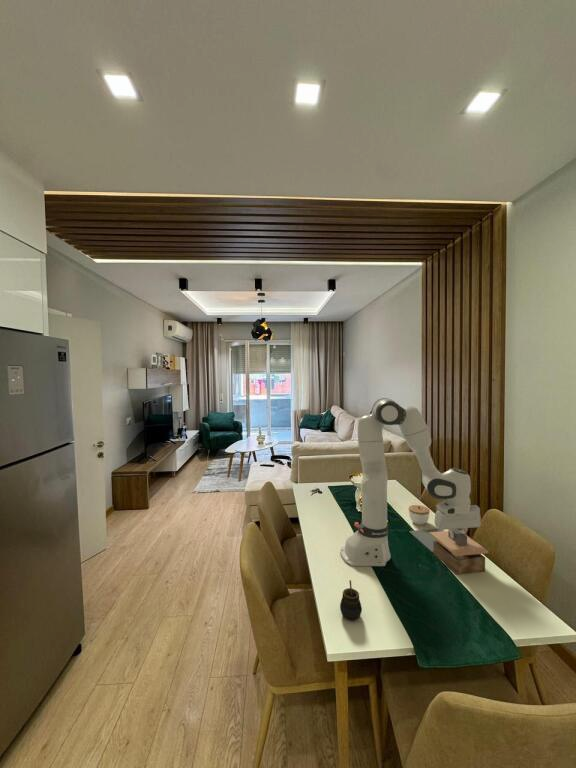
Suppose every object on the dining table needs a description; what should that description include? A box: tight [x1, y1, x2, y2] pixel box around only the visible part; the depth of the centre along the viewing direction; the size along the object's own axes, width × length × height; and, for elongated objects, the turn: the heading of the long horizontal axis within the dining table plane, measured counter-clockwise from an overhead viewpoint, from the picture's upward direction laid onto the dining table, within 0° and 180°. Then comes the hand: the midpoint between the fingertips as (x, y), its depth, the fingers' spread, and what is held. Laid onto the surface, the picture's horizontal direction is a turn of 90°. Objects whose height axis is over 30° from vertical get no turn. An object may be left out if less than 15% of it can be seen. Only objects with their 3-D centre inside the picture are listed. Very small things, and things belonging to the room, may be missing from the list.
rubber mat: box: [409, 528, 445, 553], centre depth 163 cm, size 18×20×1 cm
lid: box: [430, 529, 489, 556], centre depth 143 cm, size 15×18×5 cm
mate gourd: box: [339, 579, 363, 621], centre depth 112 cm, size 7×8×10 cm
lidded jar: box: [408, 504, 431, 526], centre depth 182 cm, size 11×11×9 cm
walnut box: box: [432, 541, 486, 576], centre depth 144 cm, size 13×16×6 cm
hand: (457, 537), depth 143 cm, fingers closed on lid, 3 cm apart
